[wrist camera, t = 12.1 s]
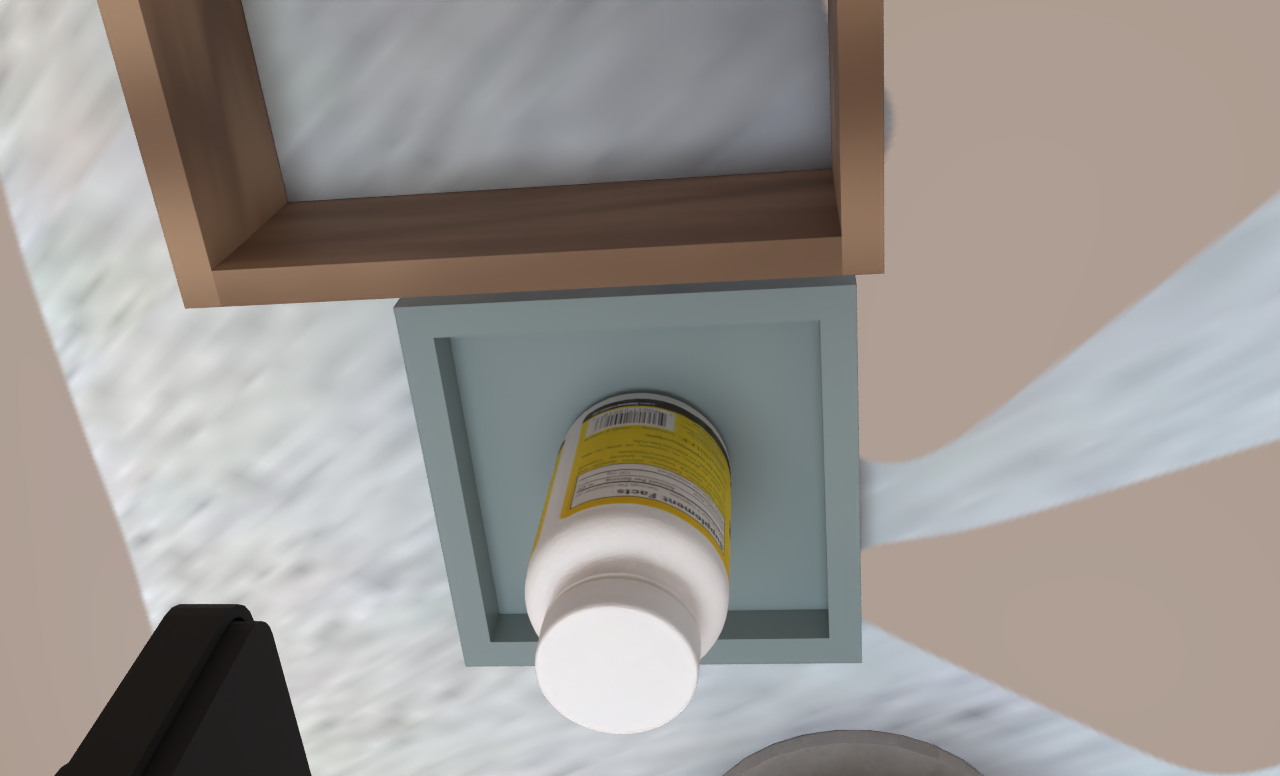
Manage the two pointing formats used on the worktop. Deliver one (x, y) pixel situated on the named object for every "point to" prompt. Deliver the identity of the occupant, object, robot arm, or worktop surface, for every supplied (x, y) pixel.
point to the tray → (665, 365)
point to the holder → (475, 220)
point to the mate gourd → (852, 757)
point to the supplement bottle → (631, 563)
